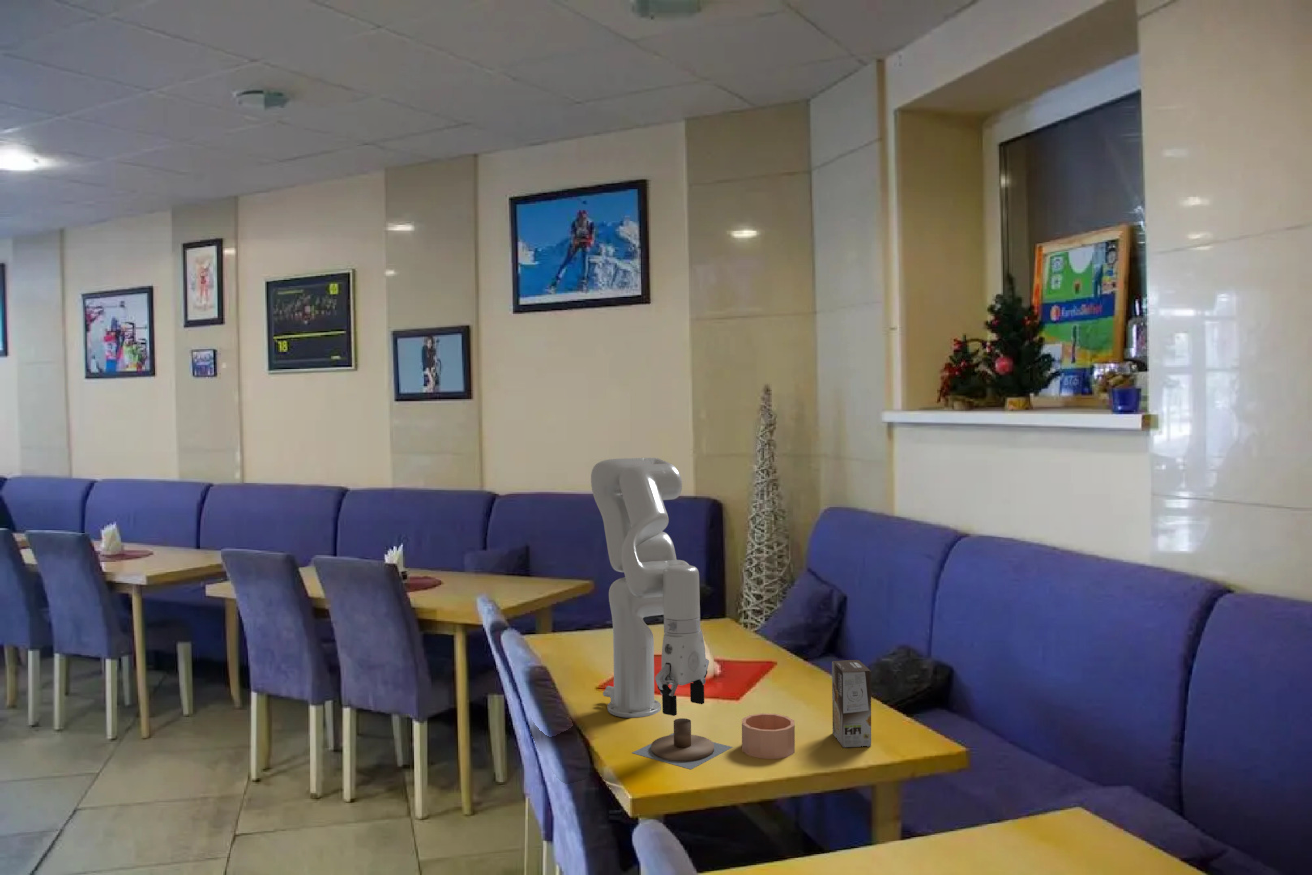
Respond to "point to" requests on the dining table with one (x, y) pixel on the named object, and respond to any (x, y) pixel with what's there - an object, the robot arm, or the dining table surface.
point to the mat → (688, 764)
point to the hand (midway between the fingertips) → (683, 708)
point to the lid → (682, 744)
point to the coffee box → (851, 703)
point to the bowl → (768, 736)
